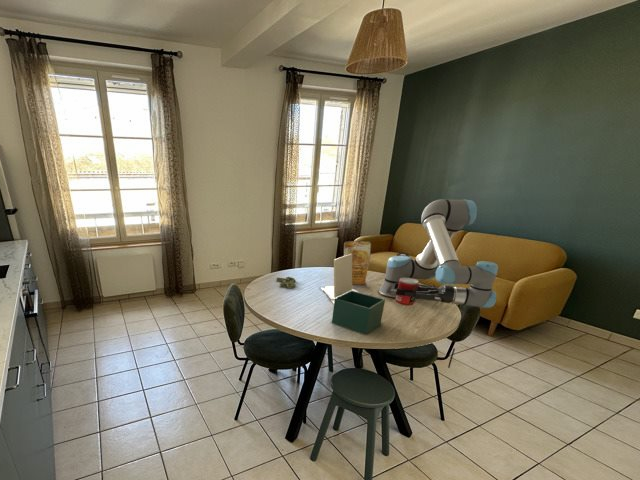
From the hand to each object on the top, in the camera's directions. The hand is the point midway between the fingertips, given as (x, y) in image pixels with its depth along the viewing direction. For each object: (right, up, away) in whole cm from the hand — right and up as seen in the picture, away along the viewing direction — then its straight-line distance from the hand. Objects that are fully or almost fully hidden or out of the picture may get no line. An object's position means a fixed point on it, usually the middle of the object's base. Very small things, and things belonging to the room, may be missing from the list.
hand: (395, 288), depth 151 cm
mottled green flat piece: (-41, +5, +67) cm, 78 cm away
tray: (-9, -3, +47) cm, 48 cm away
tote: (-14, -17, +11) cm, 25 cm away
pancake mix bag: (+4, +6, +69) cm, 70 cm away
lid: (-21, +7, +9) cm, 24 cm away
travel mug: (+34, +6, +70) cm, 78 cm away
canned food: (+5, -7, +1) cm, 8 cm away
